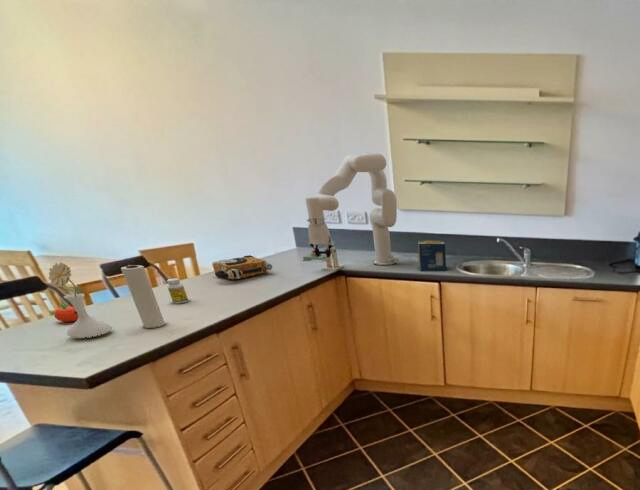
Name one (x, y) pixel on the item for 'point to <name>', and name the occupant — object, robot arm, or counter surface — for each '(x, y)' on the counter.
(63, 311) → the tomato
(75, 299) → the flower in vase
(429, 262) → the protein box
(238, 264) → the device
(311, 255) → the button box
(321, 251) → the lever
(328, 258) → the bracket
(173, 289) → the supplement bottle
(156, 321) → the paper towel roll
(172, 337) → the counter surface
